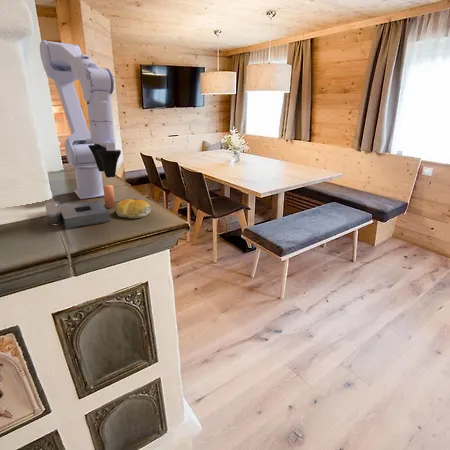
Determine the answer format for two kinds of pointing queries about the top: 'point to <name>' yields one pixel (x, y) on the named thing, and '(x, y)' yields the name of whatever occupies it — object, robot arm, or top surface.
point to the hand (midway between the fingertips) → (106, 173)
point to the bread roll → (133, 208)
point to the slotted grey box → (76, 214)
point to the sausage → (109, 196)
